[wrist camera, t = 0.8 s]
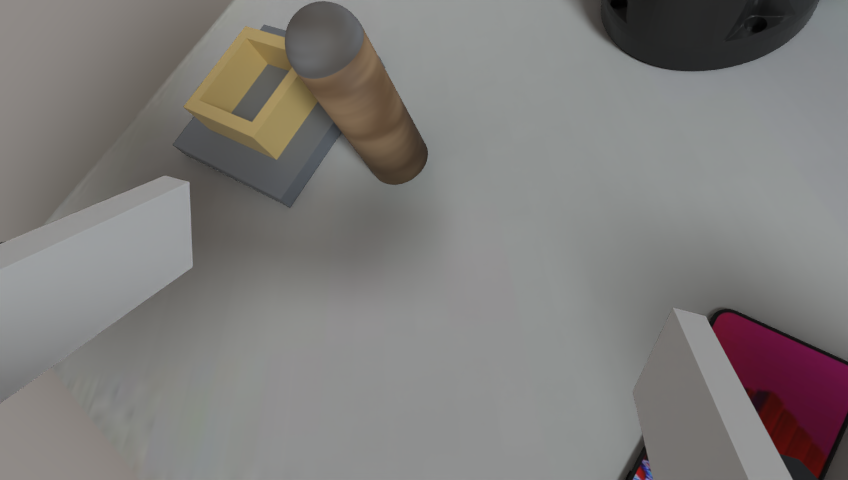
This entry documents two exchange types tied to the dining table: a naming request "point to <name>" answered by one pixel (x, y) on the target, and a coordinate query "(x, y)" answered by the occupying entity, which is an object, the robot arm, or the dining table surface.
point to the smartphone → (783, 390)
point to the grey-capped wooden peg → (355, 89)
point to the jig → (258, 118)
